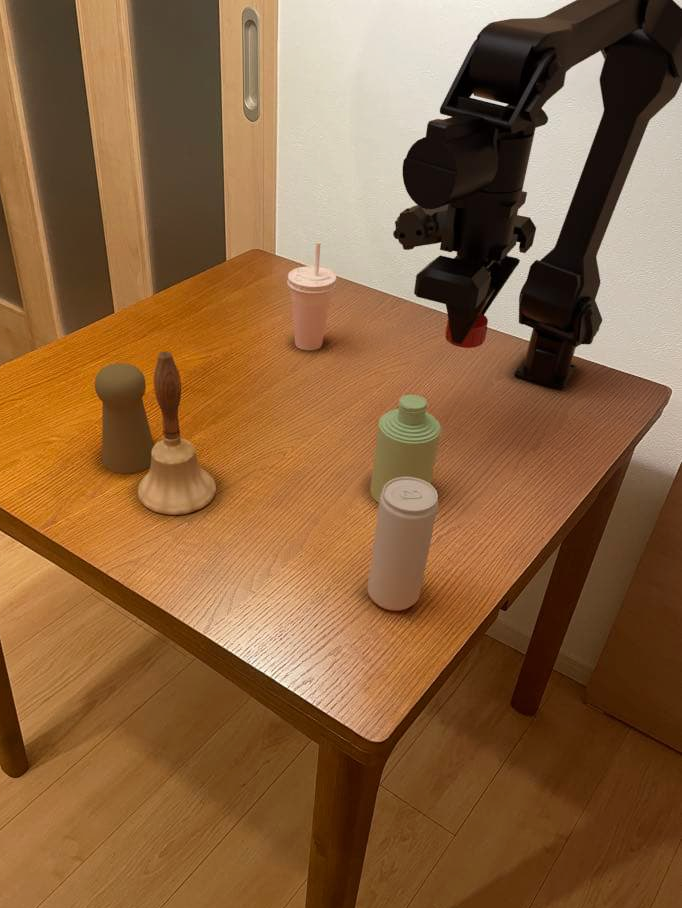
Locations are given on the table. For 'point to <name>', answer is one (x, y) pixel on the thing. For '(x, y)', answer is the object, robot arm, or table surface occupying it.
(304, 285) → the smoothie
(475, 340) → the bottle cap
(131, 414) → the cork
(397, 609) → the beverage can
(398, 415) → the sauce bottle
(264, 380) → the table surface
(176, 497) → the hand bell
